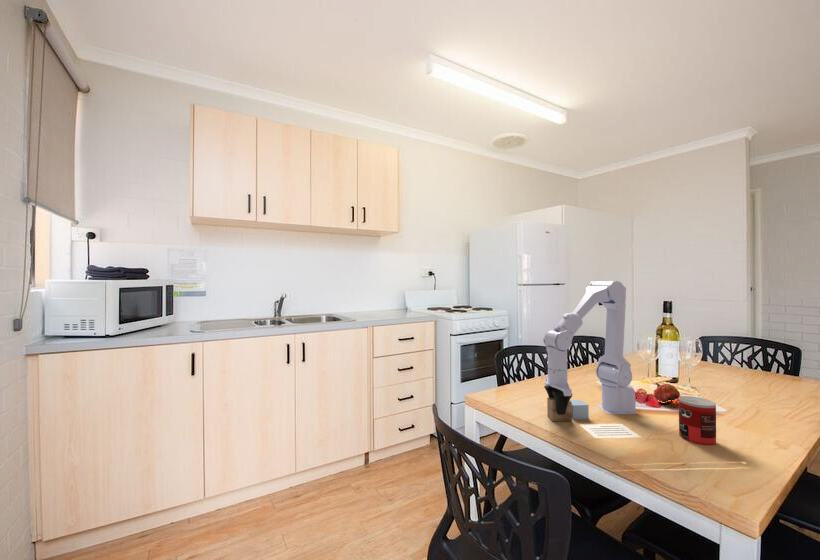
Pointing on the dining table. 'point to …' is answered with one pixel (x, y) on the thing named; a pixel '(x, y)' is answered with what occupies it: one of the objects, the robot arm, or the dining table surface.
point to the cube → (580, 409)
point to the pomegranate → (666, 392)
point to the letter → (609, 431)
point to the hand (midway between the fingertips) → (558, 411)
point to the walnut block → (553, 411)
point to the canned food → (697, 420)
